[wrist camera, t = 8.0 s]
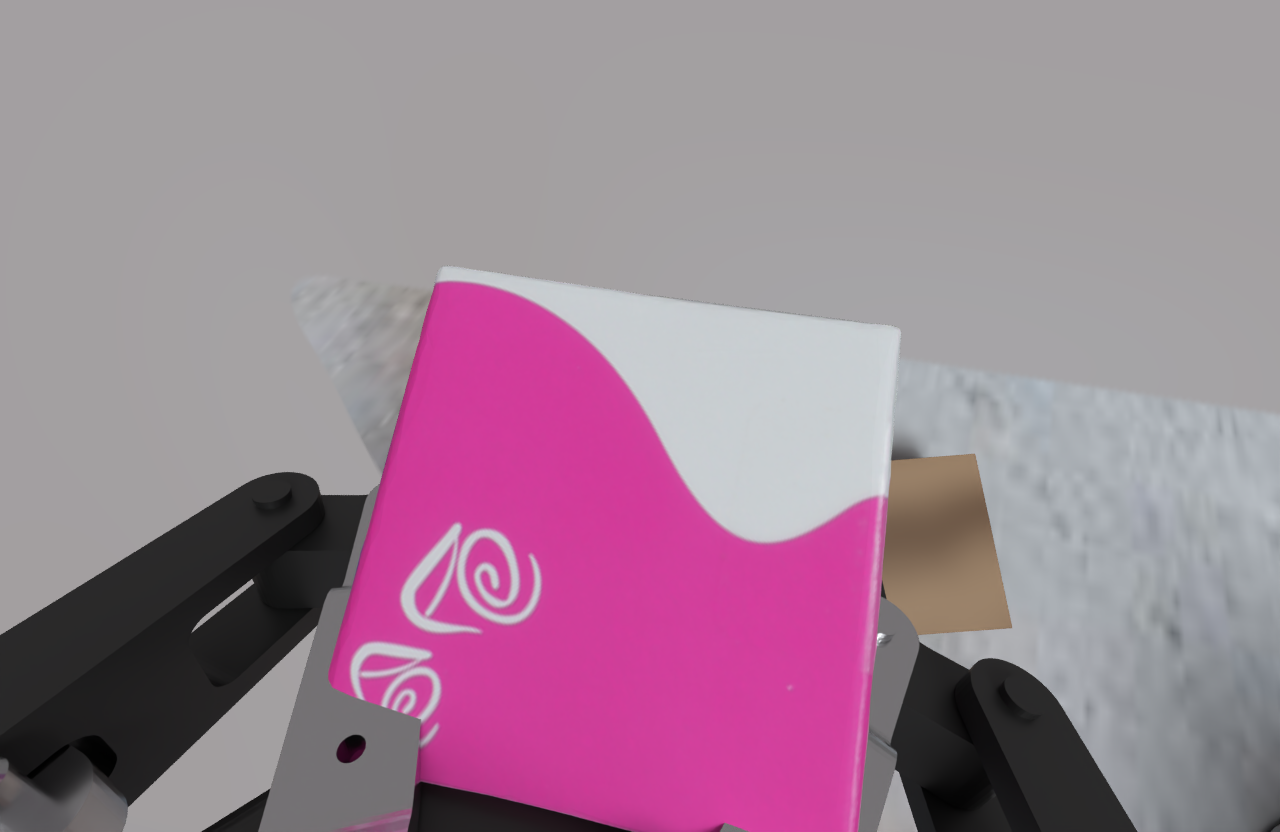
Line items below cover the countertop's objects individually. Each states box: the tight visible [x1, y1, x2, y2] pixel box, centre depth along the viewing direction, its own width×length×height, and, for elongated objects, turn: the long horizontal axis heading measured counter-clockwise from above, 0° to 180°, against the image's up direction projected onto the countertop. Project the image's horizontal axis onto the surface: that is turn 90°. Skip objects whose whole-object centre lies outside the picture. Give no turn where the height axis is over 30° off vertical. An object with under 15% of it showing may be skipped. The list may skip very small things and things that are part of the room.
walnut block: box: [882, 454, 1012, 635], centre depth 27 cm, size 8×8×5 cm
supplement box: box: [328, 266, 901, 832], centre depth 11 cm, size 6×6×12 cm
